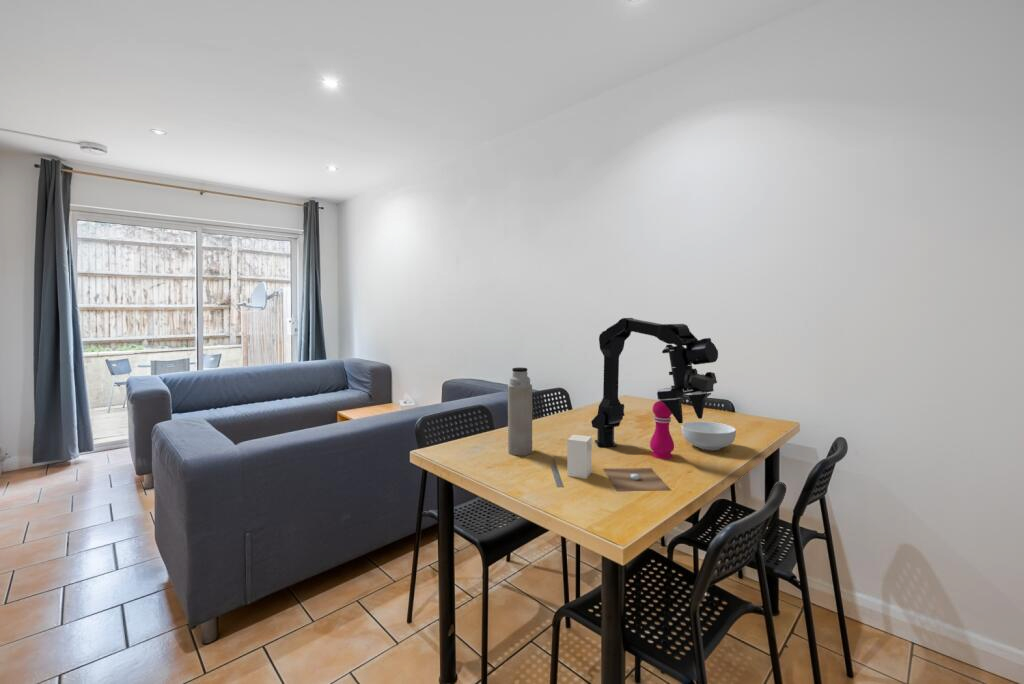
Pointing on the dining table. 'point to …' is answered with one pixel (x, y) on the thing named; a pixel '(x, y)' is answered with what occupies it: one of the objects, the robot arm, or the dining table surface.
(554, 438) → the dining table surface
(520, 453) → the thermos bottle
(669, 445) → the pepper mill
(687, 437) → the cereal bowl
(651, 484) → the board
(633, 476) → the small grey round piece
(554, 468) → the flat grey strip
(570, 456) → the cover
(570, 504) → the dining table surface
